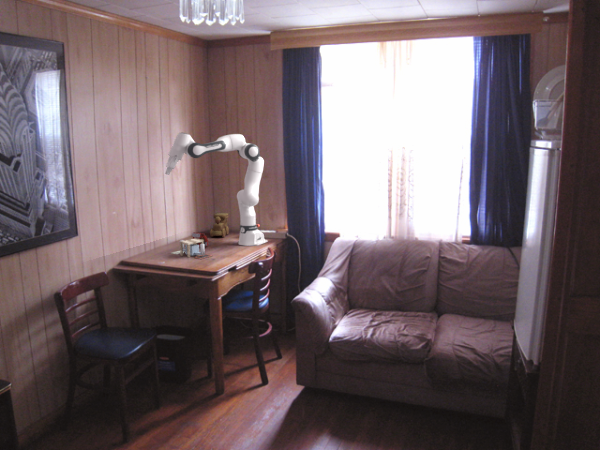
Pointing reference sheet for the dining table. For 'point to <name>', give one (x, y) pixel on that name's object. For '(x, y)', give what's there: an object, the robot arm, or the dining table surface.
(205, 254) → the pit
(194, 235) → the toy fire truck
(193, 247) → the sled
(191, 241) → the tunnel
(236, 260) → the dining table surface
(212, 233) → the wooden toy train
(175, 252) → the pad
